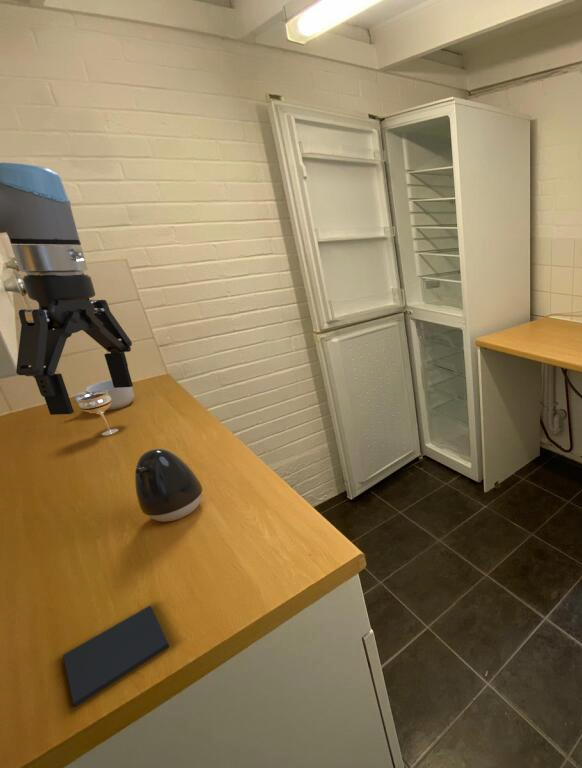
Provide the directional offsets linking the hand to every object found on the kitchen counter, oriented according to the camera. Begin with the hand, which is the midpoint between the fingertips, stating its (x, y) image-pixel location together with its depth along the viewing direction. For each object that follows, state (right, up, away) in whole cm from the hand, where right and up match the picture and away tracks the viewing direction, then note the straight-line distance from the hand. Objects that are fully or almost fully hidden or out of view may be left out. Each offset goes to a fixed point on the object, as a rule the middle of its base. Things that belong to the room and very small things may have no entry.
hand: (95, 399), depth 73 cm
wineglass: (-44, -12, +48) cm, 66 cm away
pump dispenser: (+3, -25, +15) cm, 29 cm away
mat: (+16, -36, -13) cm, 42 cm away
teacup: (-58, -5, +64) cm, 87 cm away
